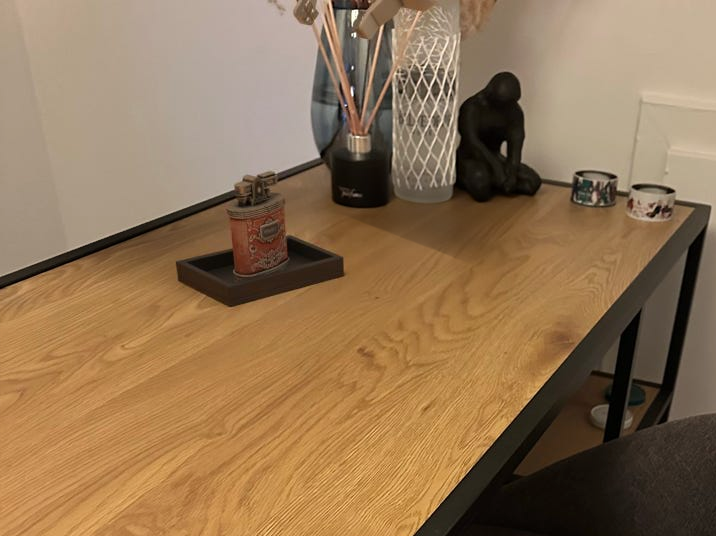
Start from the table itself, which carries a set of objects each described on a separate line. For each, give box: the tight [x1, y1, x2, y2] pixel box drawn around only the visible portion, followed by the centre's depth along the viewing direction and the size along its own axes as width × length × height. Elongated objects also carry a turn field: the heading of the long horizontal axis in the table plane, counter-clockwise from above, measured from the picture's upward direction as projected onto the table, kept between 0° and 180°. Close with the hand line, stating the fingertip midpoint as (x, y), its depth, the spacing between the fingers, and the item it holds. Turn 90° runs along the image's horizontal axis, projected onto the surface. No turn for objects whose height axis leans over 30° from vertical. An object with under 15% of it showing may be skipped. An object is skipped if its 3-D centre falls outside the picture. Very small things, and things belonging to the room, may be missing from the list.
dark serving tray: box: [175, 234, 345, 308], centre depth 104 cm, size 10×16×2 cm, turn 137°
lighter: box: [226, 170, 290, 282], centre depth 101 cm, size 8×3×10 cm, turn 152°
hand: (330, 27), depth 96 cm, fingers open, 8 cm apart
